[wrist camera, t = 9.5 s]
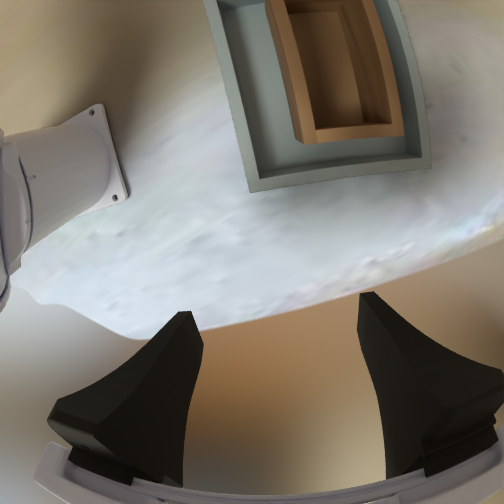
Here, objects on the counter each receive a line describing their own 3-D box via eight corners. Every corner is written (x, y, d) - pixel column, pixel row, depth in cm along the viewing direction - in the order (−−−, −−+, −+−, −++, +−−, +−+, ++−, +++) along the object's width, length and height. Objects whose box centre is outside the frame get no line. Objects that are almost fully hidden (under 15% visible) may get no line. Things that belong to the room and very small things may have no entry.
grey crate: (253, 182, 18) (250, 193, 15) (211, 10, 12) (201, -7, 10) (410, 160, 16) (431, 168, 14) (373, -4, 11) (388, -20, 8)
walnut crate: (295, 139, 16) (304, 145, 11) (265, 13, 12) (262, -22, 7) (370, 130, 15) (404, 135, 11) (341, 7, 11) (362, -24, 7)
